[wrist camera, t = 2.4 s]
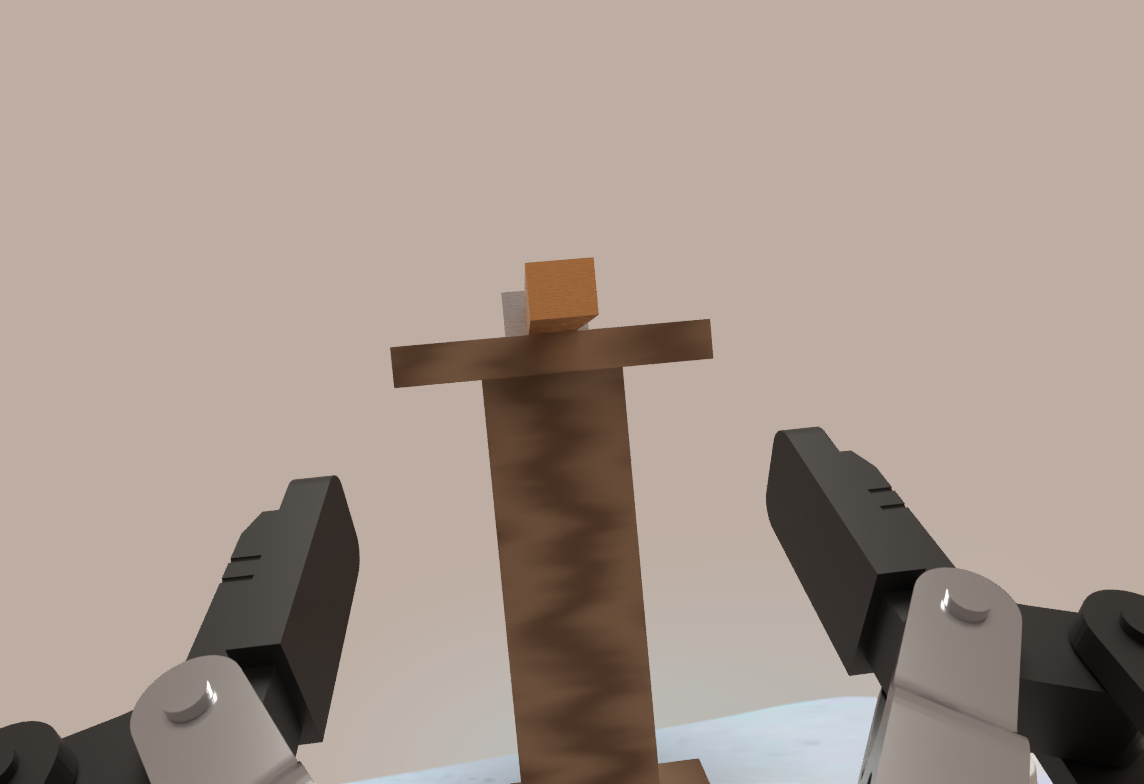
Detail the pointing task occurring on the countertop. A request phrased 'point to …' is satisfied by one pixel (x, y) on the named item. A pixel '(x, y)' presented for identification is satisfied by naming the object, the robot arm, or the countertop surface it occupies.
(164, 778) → the robot arm
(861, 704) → the countertop surface
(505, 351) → the wooden pedestal
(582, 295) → the wooden handled hammer
